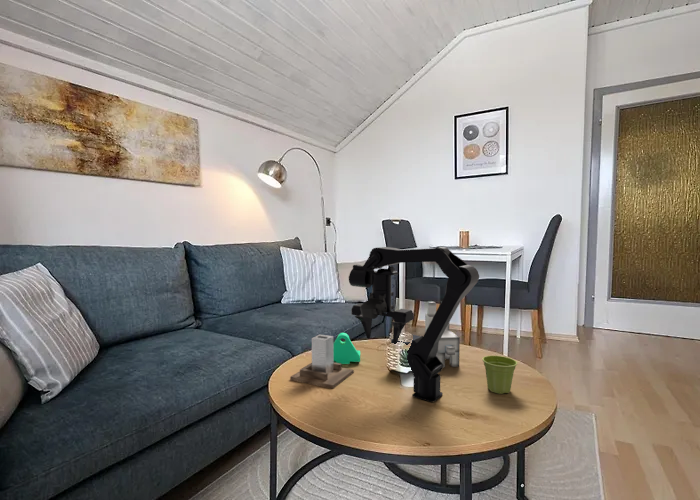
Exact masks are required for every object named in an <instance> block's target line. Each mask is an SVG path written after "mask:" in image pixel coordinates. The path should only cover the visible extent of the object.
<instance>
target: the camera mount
mask: <svg viewBox="0 0 700 500" xmlns="http://www.w3.org/2000/svg"><path fill="white" fill-rule="evenodd" d="M342 339H344V341H342ZM333 362H335V363H340V364H341V365H350V364H351V363H350V362H355V363H357V362H358V363H359V362H361V350H357V348H356V346H355V345H354V344H353V342H352V341H351V339H350V336H349V334H347V333H346V332H340V333H339V334H338V335H337V337H336V338H335V340H334V341H333Z"/></svg>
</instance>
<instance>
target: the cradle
mask: <svg viewBox="0 0 700 500" xmlns="http://www.w3.org/2000/svg"><path fill="white" fill-rule="evenodd" d="M333 365H334V372H333V373H331V374H330V375H328V373H324V372H319V371H313V370H312V362H310V363H309V364H307V365H305V366H304V367H302V368H300V369H299V371H298V372H296V373H294V374H292V375H291V376H290V377H289V379H290V381H293V382H294V381H295V382H298V383H299V382H300V383H304V384H309V385H313V386H317V387H322V388H328V389H332V390H333V389H335V388H336V387H337V386H338V385H340V384H341V383H342V382H343V381H345V380H346V379H348V378H349V377H350V376H351V375H352V374H354V372H355V371H354V370H355V369H351V368H347V367H342V365H343V364H340V363H336V361H333Z"/></svg>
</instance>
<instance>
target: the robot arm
mask: <svg viewBox="0 0 700 500" xmlns="http://www.w3.org/2000/svg"><path fill="white" fill-rule="evenodd" d="M427 262H428V263H429V262H430V263H433V262H434V263H436V264H437V266H438V267H439V268H440V270H441V272H442V273H443V275H445V276H446V277H447V281H446V283H445V285H446V287H445V294H444V296H443V298H442V300H441V301H440V304H439V306H438V308H436V313H435V315H434V317H433V319H432V321H431V323H430V325H429V326H428V328H427V330H426V332H424V334H423V335H419V336H420V337H418V338H416V339H414V340H413V341H412V343H411V346H410V348H409V350H408V351H407V353H408V355H407V360H408V363H409V365H410V367H411V370H412V371H411V373H412V375H413V390H412V391H413V393H412V397H413V398H416V399H420V400H423V401H426V402H430V403H434V402H436V401H438V399H439V398H441V396H443V392H441V374H440V373H441V372H442V371H443V368H444V367H443V366H444V365H443V364H442V362H441V361H440V360H439V359H438V357H437V356H436V355H437V351H438V343H439V340H440V338H441V337H442V335H443V333H444V331H445V329H446V327H447V325H448V324H449V325H450V321H451V320H452V318H453V316H454V314H455V313H456V310H457V309H458V307H459V305H460V303H461V302H462V301H463V299H464V297H466V296H467V295H468V294H469V293H470V291H472V289H473V288H474V287H475V286H476V284H477V283H478V282H479V279H480V274H479V271H478V269H477V268H476V267H474V266H473V265H470V264H467V262H465V261H464V260H463V259H462V258H461V257H458V255H456V254H454V253H453V252H452V251H451V250H450V249H449V248H448V247H446V246H438V247H433V248H432V247H431V248H415V249H414V248H413V249H401V248H397V247H392V246H380V247H373V248H372V249H371V251H369V256H368V258H367V259H366V261H365V262H364V264H363V265H361V264H353V265H352V269H351V271H350V272H349V275H348V282H349V284H350V286H351V287H355V288H357V287H359V288H366V289H367V288H368V289H369V288H371V287H372V289H371V292H370V293H369V296H368V299H367V300H366V301H364V302H363V303H362V302H361V303H357V304H354V305H352V307H351V316H354V317H355V319H358V321H360V323H361V325H362V327H363V330H364V334H365V337H366V338H367V340H369V339H371V336H372V335H371V334H372V324H373V323H372V322H373V320H374V319H377V318H378V316H381V317H388V318H392V320H393V321H392V322H391V324H392V327H393V330H392V331H393V334H392V335H393V336H392V339H393V343H394V344H396V343H397V340H398V338H399V336H401V335H402V334H401V333H402V331H403V329H404V328H405V325H407V324H408V323H410V322H411V321H413V320H415V318H414V317H415V316H414V315H415V314H414V312H413V310H412V309H407V308H400V309H397V310H394V305H392V297H393V296H394V291H392V276H396V275H399V272H398V271H397V269H395V268H394V266H393V265H398V264H401V263H427ZM384 267H387V268H384Z"/></svg>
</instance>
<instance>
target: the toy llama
mask: <svg viewBox="0 0 700 500" xmlns="http://www.w3.org/2000/svg"><path fill="white" fill-rule="evenodd" d="M426 303H427V305H426V306H427V307H426V308H427V312H426V313H425V315H424V316H425V317H424V320H425V321H424V322H425V325H424V329H425V330H424V331H425V332H426V330H427V328H428V326H429V325H430V323H431V321H432V319H433V317H434V315H435V313H436V311H437V302H435V301H427V302H426ZM425 332H424V333H425ZM460 341H461V338H460V337H459V336H458V335H457V334H455V332H453V331H451V330H450V323H449V324H448V325H447V327H446V329H445V331H444V333H443V335H442V337H441V338H440V340H439V343H438V351H437V355H436V356H437V357H438V359H439V360H440V361H441V362H442V364H443V365H444V366H443V368H445V367H446V360H449V366H450V367H452V368H458V367H460V353H461V352H460V351H461V350H460V347H461V344H460V343H461V342H460ZM445 359H446V360H445Z"/></svg>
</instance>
